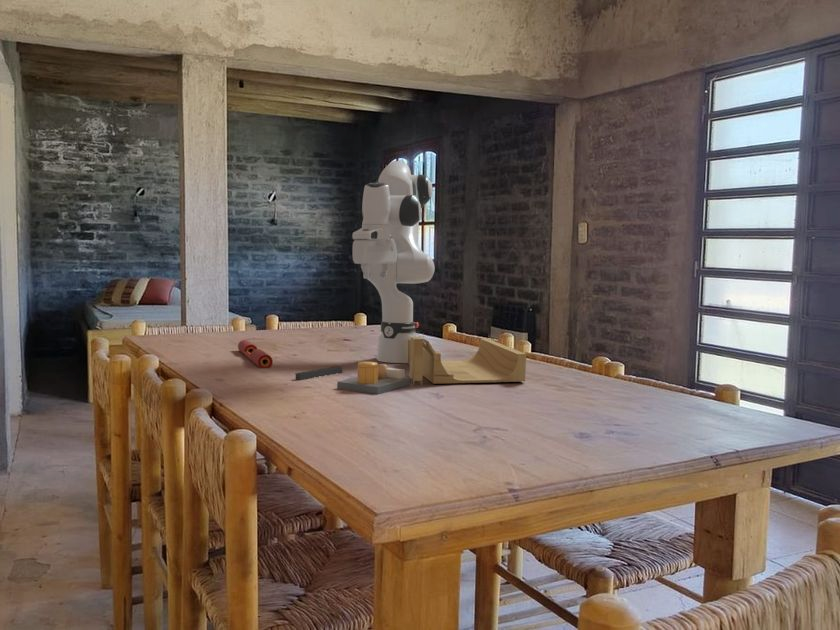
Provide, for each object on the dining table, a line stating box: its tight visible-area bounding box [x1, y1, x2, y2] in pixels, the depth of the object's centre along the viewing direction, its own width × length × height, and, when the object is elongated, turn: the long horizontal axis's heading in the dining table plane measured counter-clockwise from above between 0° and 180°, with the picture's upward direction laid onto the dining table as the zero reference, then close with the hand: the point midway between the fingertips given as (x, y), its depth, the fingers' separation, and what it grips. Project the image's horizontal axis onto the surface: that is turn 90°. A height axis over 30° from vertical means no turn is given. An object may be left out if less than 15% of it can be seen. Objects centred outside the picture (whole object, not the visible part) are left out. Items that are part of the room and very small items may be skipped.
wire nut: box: [356, 361, 379, 384], centre depth 213 cm, size 6×6×6 cm
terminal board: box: [336, 363, 412, 395], centre depth 217 cm, size 18×14×6 cm
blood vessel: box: [237, 339, 273, 369], centre depth 265 cm, size 42×5×5 cm, turn 23°
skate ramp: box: [407, 331, 527, 386], centre depth 243 cm, size 40×35×16 cm
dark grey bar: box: [295, 366, 343, 381], centre depth 233 cm, size 19×3×4 cm
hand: (375, 278), depth 234 cm, fingers open, 8 cm apart
